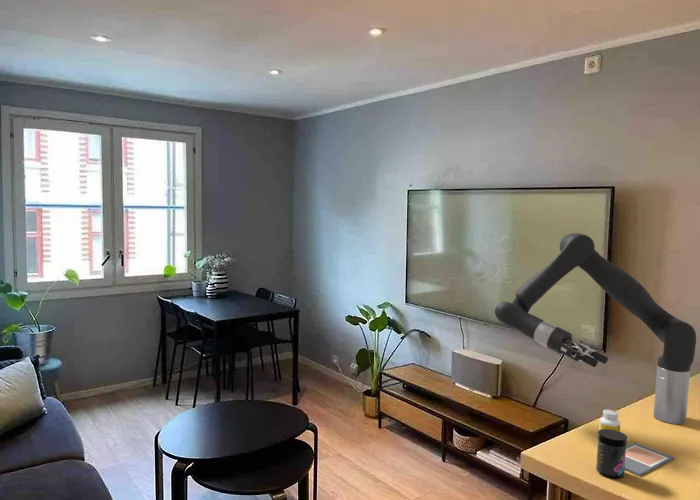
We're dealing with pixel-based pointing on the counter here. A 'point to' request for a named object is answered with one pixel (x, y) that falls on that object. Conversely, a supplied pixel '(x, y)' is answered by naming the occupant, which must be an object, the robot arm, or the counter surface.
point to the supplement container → (611, 453)
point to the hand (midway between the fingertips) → (602, 362)
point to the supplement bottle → (609, 420)
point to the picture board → (643, 458)
